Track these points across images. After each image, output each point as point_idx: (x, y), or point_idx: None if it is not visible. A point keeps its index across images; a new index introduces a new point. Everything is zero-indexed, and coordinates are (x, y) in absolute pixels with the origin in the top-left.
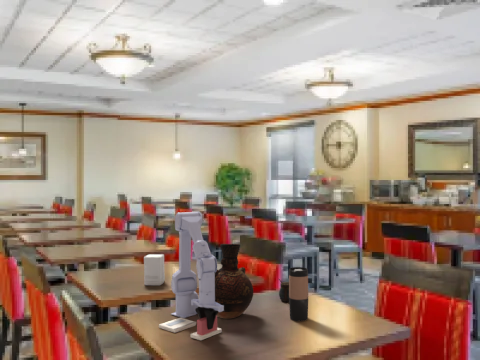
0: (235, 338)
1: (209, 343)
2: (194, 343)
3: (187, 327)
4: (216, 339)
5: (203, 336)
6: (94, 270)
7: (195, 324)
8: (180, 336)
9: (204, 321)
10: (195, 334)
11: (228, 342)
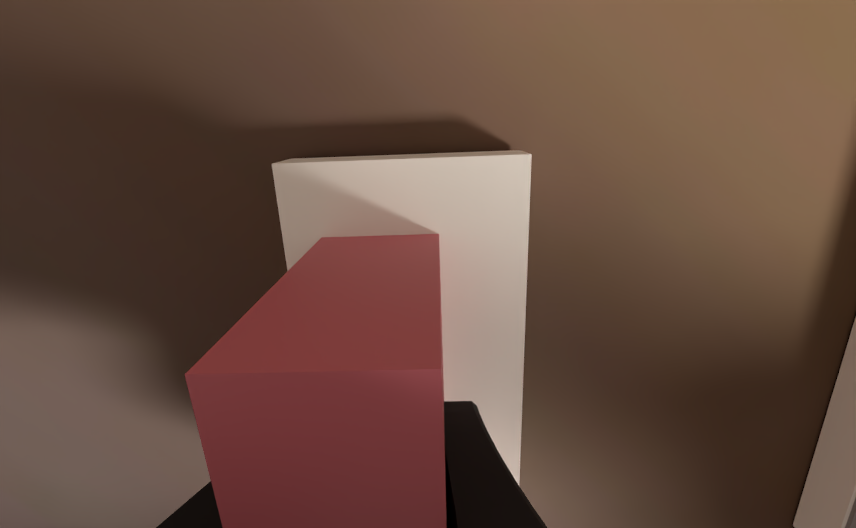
0: (77, 494)
1: (121, 176)
2: (274, 7)
3: (843, 398)
4: (193, 344)
5: (284, 233)
6: None
7: (805, 526)
8: (707, 78)
9: (228, 458)
10: (442, 197)
11: (4, 364)
